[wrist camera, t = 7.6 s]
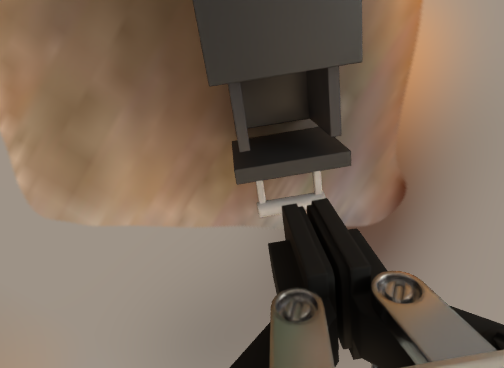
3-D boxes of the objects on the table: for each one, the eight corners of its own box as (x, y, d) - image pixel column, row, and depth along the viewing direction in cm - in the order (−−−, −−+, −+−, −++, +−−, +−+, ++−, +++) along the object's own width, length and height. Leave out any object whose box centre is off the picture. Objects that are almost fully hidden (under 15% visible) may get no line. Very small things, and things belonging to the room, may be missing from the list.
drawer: (325, 184, 34) (352, 222, 27) (241, 198, 34) (246, 239, 27) (314, -9, 27) (346, -26, 20) (208, 8, 27) (202, -4, 20)
